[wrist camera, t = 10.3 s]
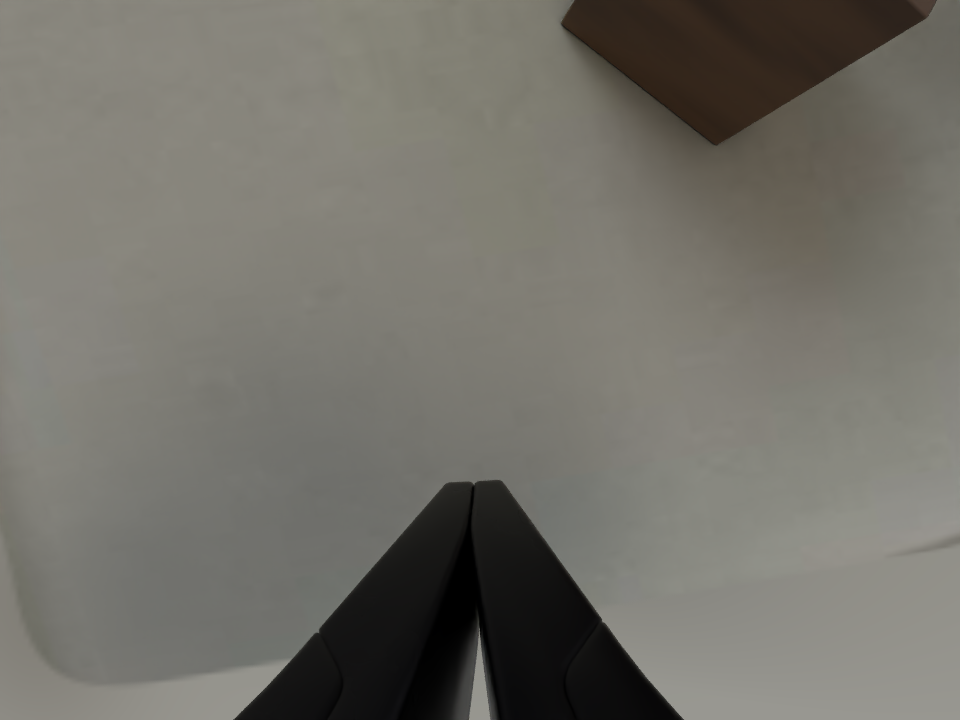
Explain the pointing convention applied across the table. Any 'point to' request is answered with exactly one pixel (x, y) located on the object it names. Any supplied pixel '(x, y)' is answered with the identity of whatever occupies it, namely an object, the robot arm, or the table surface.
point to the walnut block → (736, 49)
